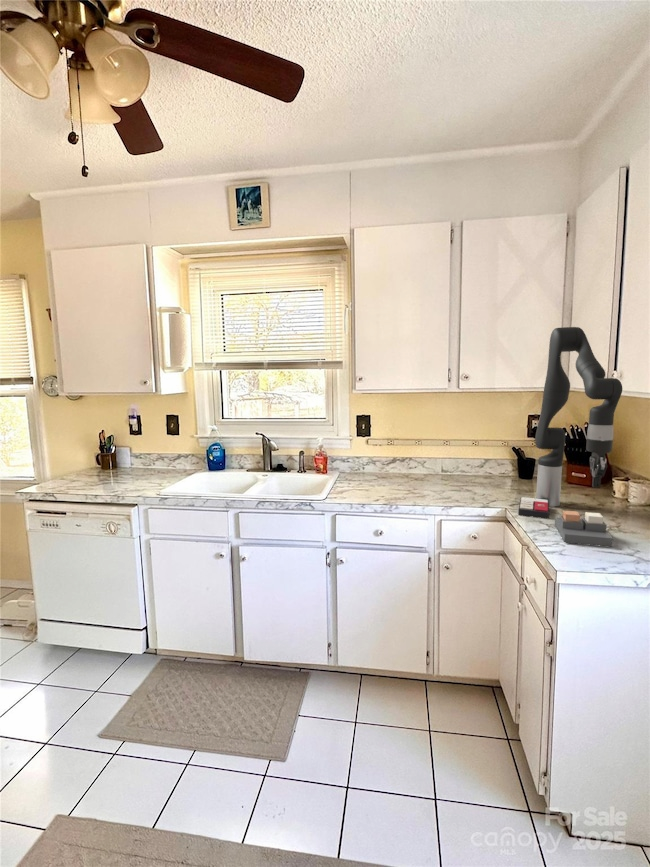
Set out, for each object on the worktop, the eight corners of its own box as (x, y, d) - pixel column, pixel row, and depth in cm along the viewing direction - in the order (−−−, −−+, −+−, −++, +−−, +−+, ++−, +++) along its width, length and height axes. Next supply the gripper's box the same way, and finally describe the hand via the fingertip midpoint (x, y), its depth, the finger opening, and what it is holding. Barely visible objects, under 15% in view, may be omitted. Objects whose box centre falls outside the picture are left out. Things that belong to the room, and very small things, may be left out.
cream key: (584, 519, 157) (585, 512, 156) (599, 520, 155) (599, 513, 155) (588, 523, 153) (588, 516, 152) (602, 524, 151) (603, 517, 151)
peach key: (562, 517, 159) (563, 510, 159) (576, 518, 158) (577, 511, 157) (565, 521, 155) (565, 514, 154) (579, 522, 153) (580, 515, 153)
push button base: (554, 524, 166) (555, 510, 166) (596, 528, 162) (597, 513, 161) (564, 542, 149) (565, 526, 149) (612, 547, 145) (613, 531, 144)
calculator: (518, 507, 178) (520, 495, 191) (518, 517, 178) (520, 505, 192) (549, 510, 173) (549, 498, 186) (548, 521, 174) (548, 508, 187)
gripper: (582, 434, 157) (579, 482, 160) (592, 440, 145) (588, 491, 147) (606, 435, 155) (603, 483, 157) (618, 441, 143) (614, 493, 145)
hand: (596, 487), depth 152 cm, fingers closed
